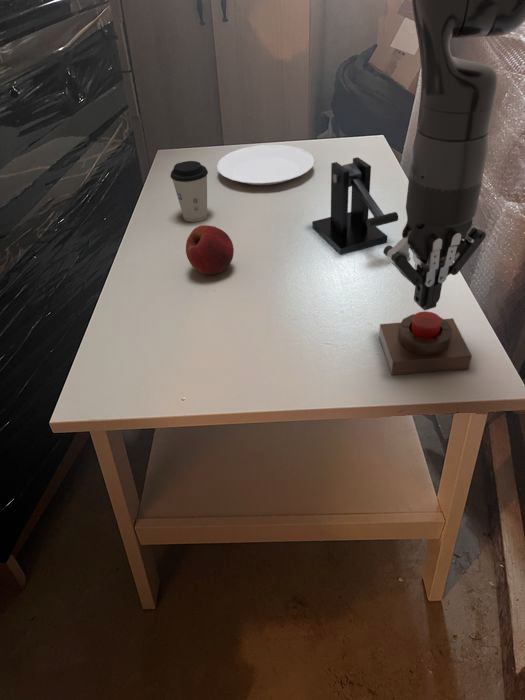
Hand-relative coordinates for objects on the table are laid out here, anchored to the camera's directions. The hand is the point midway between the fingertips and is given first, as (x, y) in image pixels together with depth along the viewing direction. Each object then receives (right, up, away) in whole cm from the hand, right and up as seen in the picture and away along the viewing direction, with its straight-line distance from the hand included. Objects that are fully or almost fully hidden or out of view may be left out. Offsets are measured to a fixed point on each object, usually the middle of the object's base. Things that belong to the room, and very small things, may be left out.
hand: (425, 305), depth 73 cm
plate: (-20, +33, +54) cm, 66 cm away
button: (+1, -3, +3) cm, 4 cm away
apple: (-29, +8, +24) cm, 38 cm away
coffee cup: (-33, +20, +40) cm, 56 cm away
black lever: (-4, +19, +22) cm, 29 cm away
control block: (+1, -6, +5) cm, 8 cm away
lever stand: (-5, +15, +31) cm, 35 cm away
